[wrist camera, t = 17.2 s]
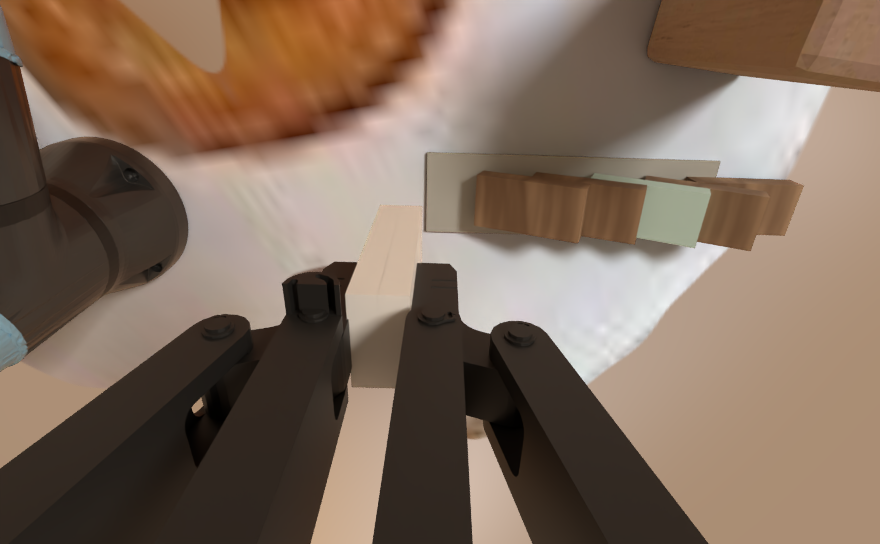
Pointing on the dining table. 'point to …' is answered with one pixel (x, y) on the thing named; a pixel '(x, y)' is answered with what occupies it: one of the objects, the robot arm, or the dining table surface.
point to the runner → (458, 174)
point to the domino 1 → (531, 205)
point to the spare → (669, 211)
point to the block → (773, 39)
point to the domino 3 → (728, 214)
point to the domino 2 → (609, 208)
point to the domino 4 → (778, 206)
